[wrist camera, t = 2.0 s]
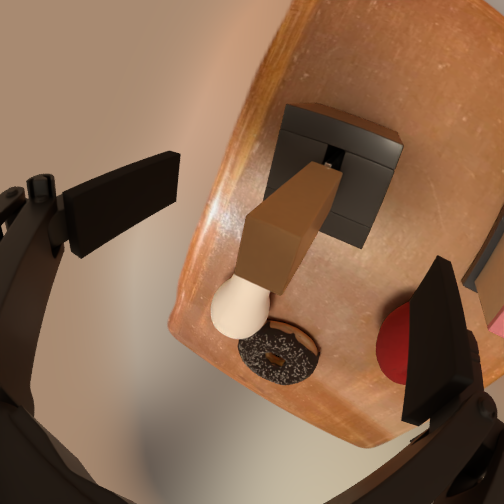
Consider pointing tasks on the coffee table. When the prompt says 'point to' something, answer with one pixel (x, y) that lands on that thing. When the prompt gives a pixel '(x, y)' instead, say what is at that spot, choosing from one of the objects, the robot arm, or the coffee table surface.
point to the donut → (279, 353)
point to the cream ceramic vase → (239, 308)
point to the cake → (490, 277)
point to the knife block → (353, 165)
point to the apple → (394, 345)
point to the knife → (287, 225)
